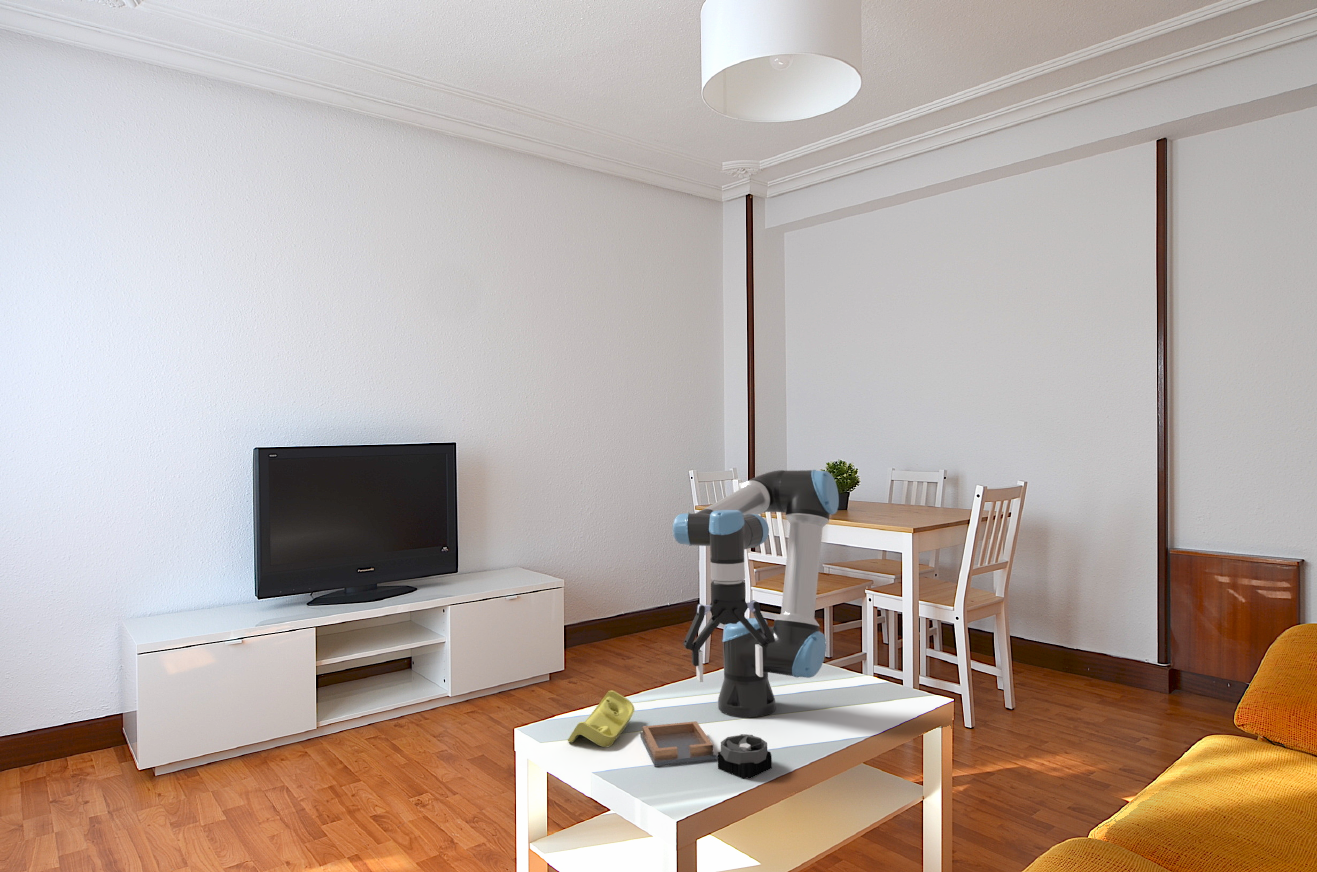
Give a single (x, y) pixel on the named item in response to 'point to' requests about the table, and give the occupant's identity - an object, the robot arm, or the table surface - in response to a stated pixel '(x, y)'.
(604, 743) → the plastic component
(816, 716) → the table surface
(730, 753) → the cpu cooler
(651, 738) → the board
